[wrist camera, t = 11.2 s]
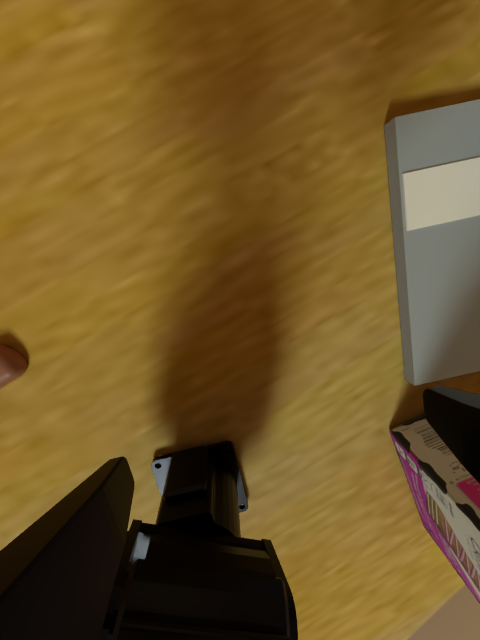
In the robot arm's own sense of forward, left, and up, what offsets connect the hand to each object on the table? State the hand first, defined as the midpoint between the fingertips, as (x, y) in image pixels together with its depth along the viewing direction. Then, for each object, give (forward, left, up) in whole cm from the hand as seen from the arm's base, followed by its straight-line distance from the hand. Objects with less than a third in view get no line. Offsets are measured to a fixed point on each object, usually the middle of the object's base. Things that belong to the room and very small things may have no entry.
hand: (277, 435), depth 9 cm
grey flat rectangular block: (+2, -19, -13) cm, 23 cm away
